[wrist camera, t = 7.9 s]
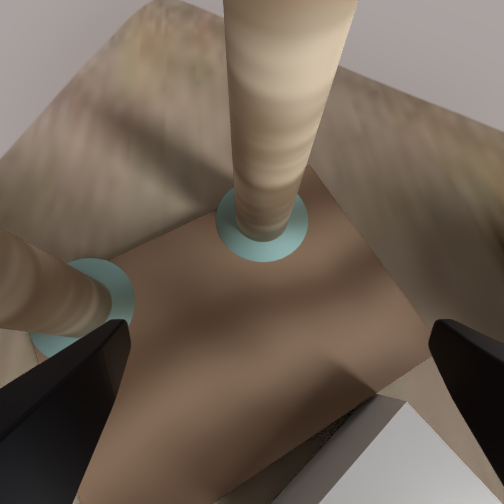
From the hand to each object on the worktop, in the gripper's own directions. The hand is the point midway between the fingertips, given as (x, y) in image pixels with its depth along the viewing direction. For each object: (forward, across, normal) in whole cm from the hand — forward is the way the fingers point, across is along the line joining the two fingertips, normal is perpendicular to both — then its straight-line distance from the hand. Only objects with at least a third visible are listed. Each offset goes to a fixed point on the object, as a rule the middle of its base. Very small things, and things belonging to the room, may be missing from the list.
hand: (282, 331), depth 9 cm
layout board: (+8, +2, +6) cm, 10 cm away
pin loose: (+12, 0, 0) cm, 12 cm away
